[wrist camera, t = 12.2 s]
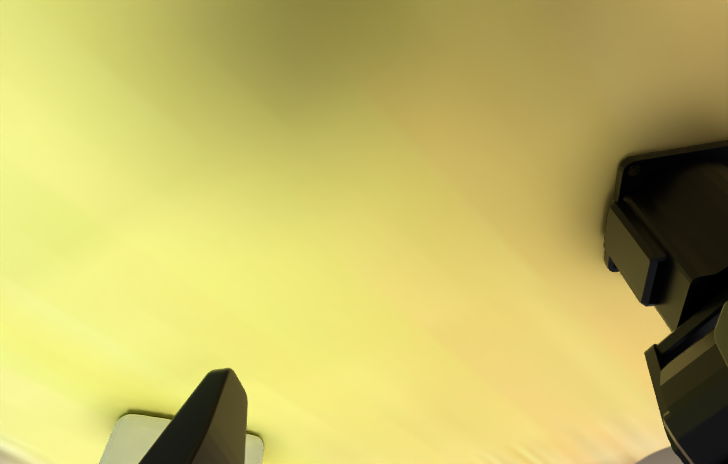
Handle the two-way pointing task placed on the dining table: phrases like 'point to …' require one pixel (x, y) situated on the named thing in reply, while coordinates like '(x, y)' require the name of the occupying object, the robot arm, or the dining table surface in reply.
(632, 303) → the dining table surface
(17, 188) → the dining table surface
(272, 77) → the dining table surface
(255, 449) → the photo printer
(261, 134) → the dining table surface
